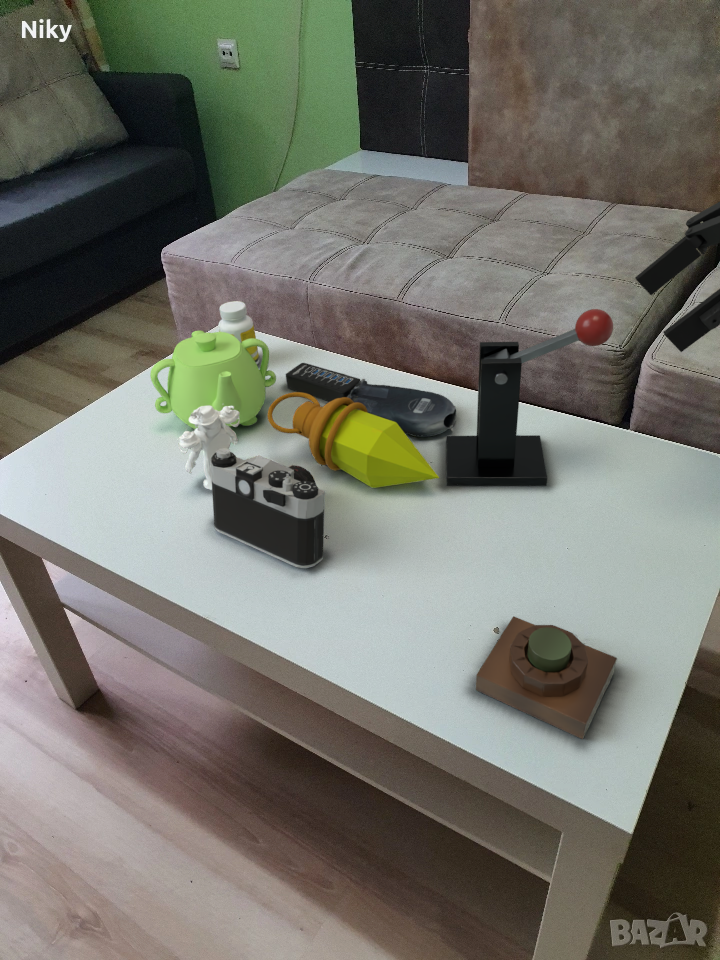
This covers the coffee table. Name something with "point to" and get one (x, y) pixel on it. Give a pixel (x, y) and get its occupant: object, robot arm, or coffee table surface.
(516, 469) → the bracket
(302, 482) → the camera
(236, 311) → the supplement bottle
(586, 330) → the lever
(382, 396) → the electronic device
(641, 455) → the coffee table surface
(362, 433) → the plumb bob
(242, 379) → the teapot
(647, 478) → the coffee table surface
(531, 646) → the button
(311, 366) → the multiport hub
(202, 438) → the flower shoulder figurine
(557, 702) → the button block
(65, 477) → the coffee table surface
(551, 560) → the coffee table surface
